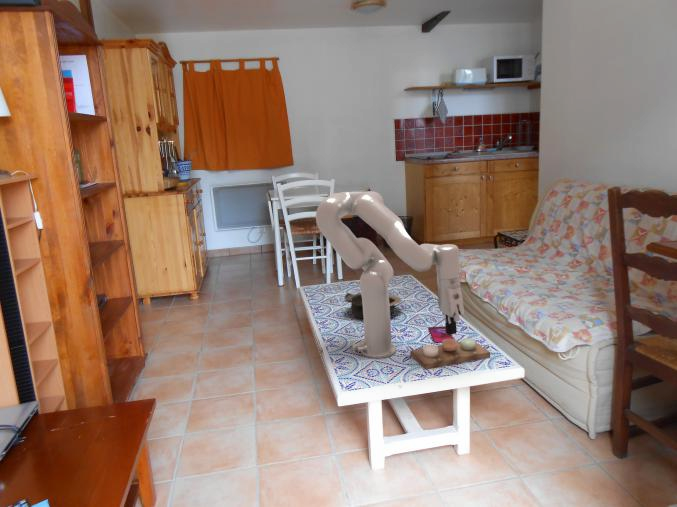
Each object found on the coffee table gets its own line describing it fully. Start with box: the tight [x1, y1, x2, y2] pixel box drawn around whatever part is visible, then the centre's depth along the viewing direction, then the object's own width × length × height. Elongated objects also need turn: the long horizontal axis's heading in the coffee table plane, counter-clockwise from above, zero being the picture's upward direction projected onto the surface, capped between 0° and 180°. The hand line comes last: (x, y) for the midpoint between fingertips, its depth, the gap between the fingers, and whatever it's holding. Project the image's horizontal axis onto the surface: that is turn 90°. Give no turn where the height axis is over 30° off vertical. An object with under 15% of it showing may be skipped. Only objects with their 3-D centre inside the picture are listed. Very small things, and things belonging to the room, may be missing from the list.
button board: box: [410, 341, 491, 371], centre depth 174 cm, size 24×12×2 cm, turn 105°
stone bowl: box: [343, 292, 403, 319], centre depth 222 cm, size 25×25×9 cm
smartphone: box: [427, 325, 454, 344], centre depth 194 cm, size 8×1×15 cm
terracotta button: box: [441, 338, 458, 351], centre depth 173 cm, size 5×5×2 cm
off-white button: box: [422, 344, 439, 357], centre depth 172 cm, size 5×5×2 cm
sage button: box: [459, 337, 476, 350], centre depth 175 cm, size 5×5×2 cm
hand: (451, 333), depth 172 cm, fingers closed
